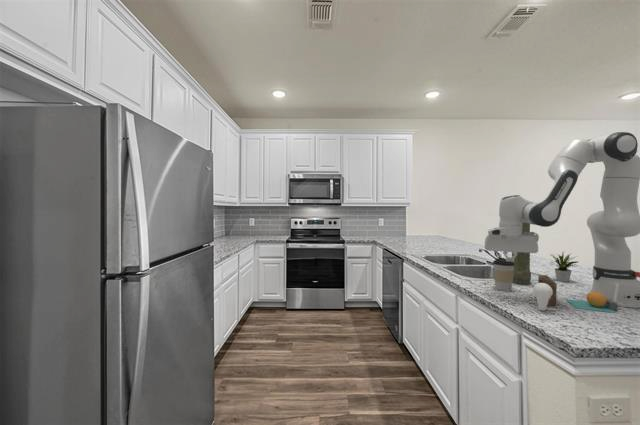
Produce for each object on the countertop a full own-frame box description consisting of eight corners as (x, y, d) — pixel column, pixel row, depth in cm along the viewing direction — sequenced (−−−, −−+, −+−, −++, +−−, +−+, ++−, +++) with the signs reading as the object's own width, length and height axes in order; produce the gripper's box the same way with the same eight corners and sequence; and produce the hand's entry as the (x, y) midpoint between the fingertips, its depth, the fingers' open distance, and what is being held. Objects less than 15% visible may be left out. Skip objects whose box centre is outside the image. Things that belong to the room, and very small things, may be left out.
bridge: (546, 296, 130) (546, 275, 130) (556, 307, 117) (556, 283, 117) (538, 295, 132) (538, 274, 131) (547, 305, 118) (547, 282, 118)
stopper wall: (609, 306, 117) (610, 298, 117) (617, 311, 112) (617, 303, 112) (603, 305, 118) (603, 298, 118) (610, 310, 113) (610, 302, 113)
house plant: (551, 283, 151) (552, 252, 151) (539, 277, 164) (539, 249, 164) (584, 285, 147) (584, 253, 147) (569, 278, 161) (569, 249, 160)
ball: (593, 287, 120) (580, 295, 122) (600, 290, 114) (585, 299, 116) (606, 299, 118) (592, 307, 120) (613, 303, 112) (598, 311, 114)
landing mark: (601, 303, 121) (601, 302, 121) (615, 313, 110) (615, 312, 110) (565, 299, 126) (565, 298, 126) (575, 308, 115) (575, 307, 115)
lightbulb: (553, 314, 109) (554, 286, 108) (533, 311, 112) (534, 283, 112) (551, 309, 114) (551, 282, 114) (532, 306, 117) (532, 280, 117)
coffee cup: (517, 292, 137) (518, 261, 136) (497, 291, 139) (497, 260, 138) (509, 286, 146) (509, 257, 145) (489, 285, 148) (490, 257, 147)
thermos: (532, 282, 154) (533, 217, 153) (528, 286, 146) (529, 218, 145) (513, 279, 160) (513, 217, 159) (508, 283, 152) (508, 217, 151)
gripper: (537, 231, 128) (536, 262, 128) (484, 229, 137) (484, 258, 137) (540, 232, 122) (540, 264, 122) (485, 231, 131) (485, 261, 131)
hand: (510, 261), depth 130 cm, fingers closed
